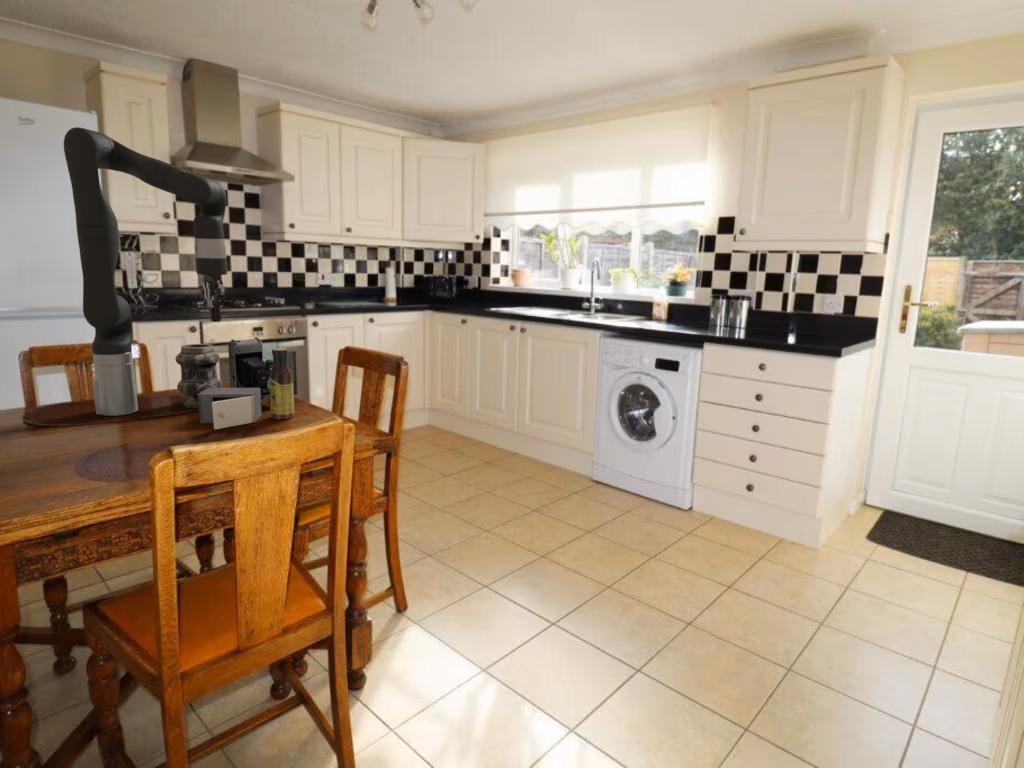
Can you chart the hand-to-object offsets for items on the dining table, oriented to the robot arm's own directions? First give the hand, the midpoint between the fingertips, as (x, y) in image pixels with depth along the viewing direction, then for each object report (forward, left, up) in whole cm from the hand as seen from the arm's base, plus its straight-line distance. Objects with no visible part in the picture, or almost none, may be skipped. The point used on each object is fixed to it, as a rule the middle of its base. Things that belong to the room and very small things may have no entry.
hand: (215, 321), depth 166 cm
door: (+7, -10, -27) cm, 29 cm away
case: (+3, -2, -27) cm, 27 cm away
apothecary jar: (-11, +15, -27) cm, 33 cm away
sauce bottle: (+17, -1, -27) cm, 32 cm away
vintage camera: (+6, +14, -27) cm, 31 cm away
